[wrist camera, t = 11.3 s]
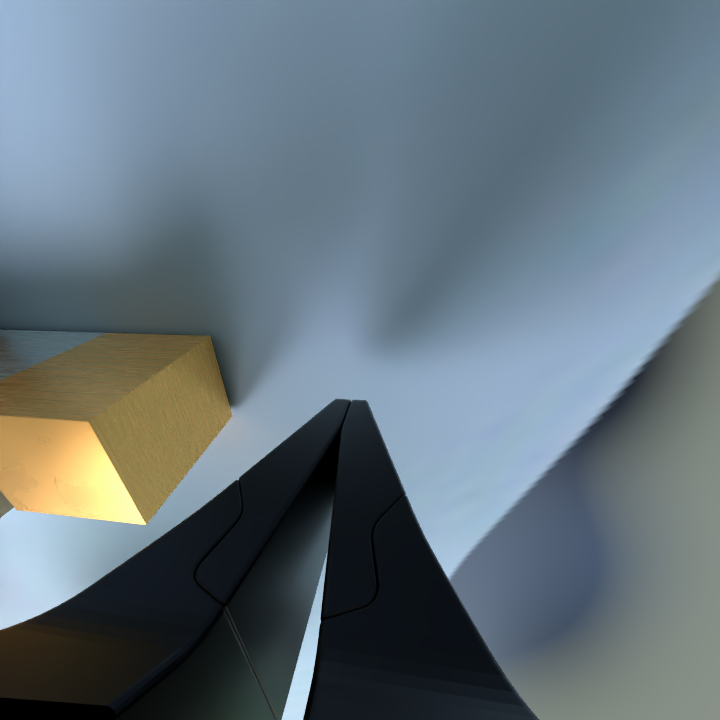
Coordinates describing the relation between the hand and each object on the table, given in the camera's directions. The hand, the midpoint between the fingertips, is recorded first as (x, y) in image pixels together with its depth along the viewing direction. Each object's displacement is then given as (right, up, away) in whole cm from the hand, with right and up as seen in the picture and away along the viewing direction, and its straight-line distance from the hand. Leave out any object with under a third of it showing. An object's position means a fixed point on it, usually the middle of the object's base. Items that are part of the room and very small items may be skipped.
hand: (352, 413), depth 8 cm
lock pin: (-9, +1, +3) cm, 10 cm away
